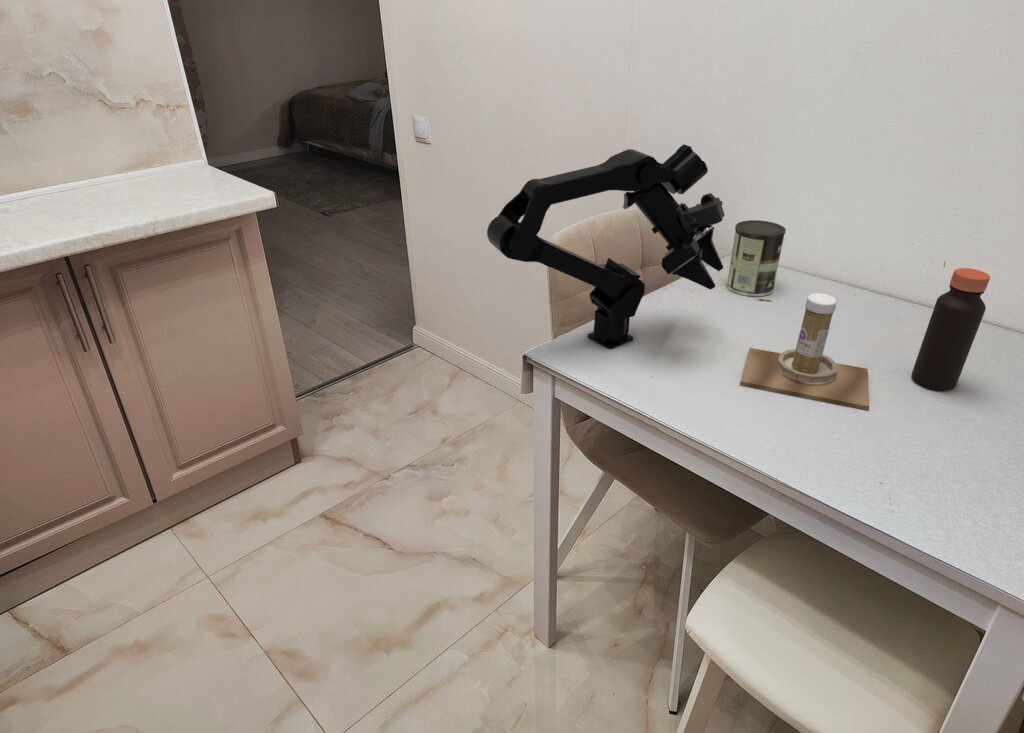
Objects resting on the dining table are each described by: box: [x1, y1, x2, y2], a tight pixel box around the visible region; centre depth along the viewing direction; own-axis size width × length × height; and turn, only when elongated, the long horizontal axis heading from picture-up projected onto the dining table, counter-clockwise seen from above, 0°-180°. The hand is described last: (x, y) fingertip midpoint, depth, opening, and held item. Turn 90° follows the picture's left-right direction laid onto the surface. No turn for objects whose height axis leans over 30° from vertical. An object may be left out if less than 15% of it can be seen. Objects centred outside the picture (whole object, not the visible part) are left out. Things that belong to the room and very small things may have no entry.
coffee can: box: [726, 219, 787, 298], centre depth 146 cm, size 10×10×14 cm
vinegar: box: [911, 267, 991, 392], centre depth 110 cm, size 7×7×20 cm
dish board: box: [739, 347, 870, 411], centre depth 115 cm, size 20×13×2 cm, turn 66°
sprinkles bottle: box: [792, 292, 838, 374], centre depth 113 cm, size 5×5×14 cm
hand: (717, 278), depth 120 cm, fingers open, 9 cm apart
